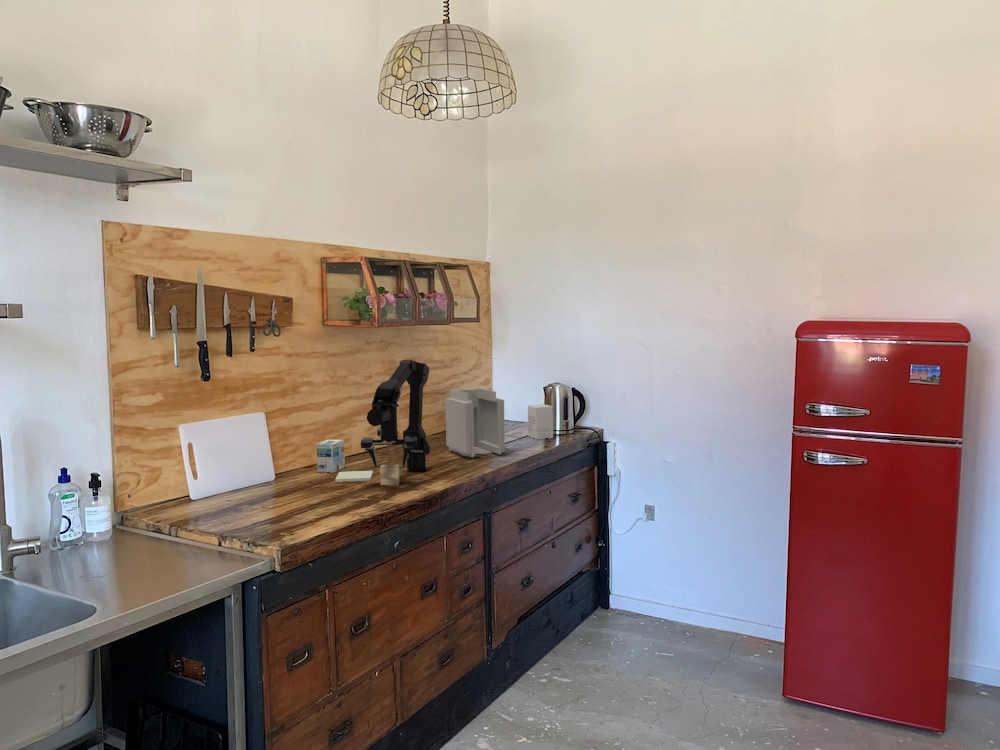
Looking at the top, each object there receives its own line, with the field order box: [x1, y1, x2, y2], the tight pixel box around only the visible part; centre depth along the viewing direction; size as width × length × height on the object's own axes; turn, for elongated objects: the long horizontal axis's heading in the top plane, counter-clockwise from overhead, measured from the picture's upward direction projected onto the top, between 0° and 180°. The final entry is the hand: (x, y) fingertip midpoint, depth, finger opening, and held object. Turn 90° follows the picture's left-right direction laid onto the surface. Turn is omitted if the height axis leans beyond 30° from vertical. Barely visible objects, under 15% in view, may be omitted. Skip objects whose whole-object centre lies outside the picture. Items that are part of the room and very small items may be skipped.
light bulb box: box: [316, 438, 346, 474], centre depth 274 cm, size 11×7×11 cm, turn 168°
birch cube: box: [379, 463, 400, 486], centre depth 251 cm, size 6×6×6 cm
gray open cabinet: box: [445, 387, 506, 458], centre depth 304 cm, size 17×27×26 cm, turn 26°
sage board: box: [334, 470, 374, 483], centre depth 261 cm, size 12×12×1 cm
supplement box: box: [527, 404, 554, 440], centre depth 340 cm, size 9×9×15 cm
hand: (389, 467), depth 251 cm, fingers open, 9 cm apart
